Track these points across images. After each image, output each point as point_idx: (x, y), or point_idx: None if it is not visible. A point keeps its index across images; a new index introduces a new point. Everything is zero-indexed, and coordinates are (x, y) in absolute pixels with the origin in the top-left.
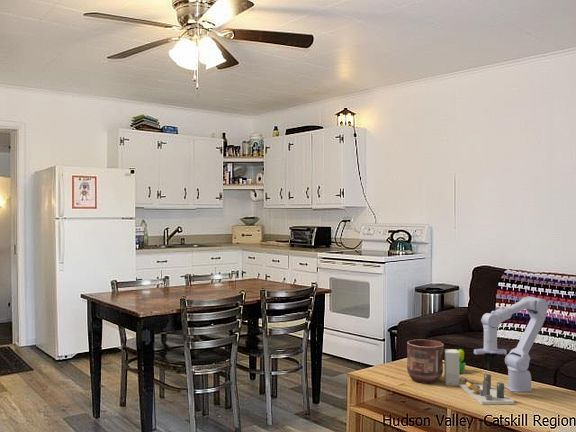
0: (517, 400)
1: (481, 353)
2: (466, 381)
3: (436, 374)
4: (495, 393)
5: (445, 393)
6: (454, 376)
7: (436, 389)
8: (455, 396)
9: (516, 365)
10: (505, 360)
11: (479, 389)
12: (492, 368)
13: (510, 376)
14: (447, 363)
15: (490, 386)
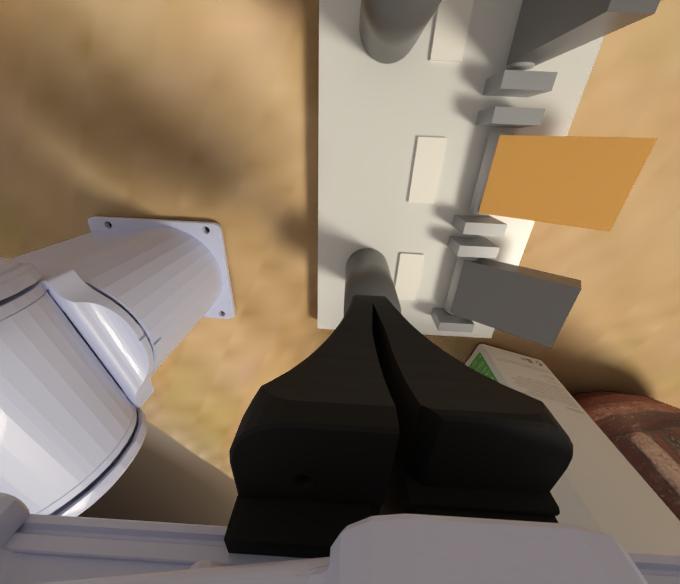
0: (247, 12)
1: (660, 575)
2: (554, 277)
3: (624, 420)
4: (375, 142)
5: (674, 230)
6: (534, 386)
7: (656, 305)
8: (666, 160)
9: (10, 306)
10: (124, 456)
11: (529, 136)
12: (356, 301)
13: (174, 300)
14: (644, 484)
15: (355, 257)
